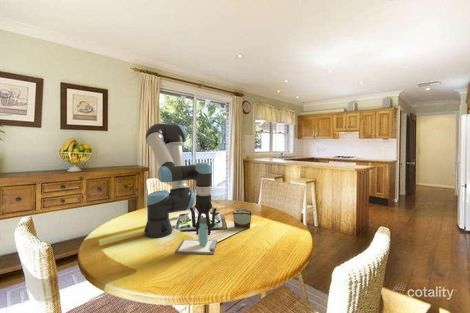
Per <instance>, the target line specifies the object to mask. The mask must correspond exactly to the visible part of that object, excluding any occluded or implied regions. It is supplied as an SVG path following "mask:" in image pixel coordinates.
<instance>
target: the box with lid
mask: <svg viewBox="0 0 470 313" xmlns="http://www.w3.org/2000/svg"><path fill="white" fill-rule="evenodd" d="M199 223H200V226H199V227H200V245H201V246H206V245H207V242H206V229H207V219H206V216H205V217H204V216H201V218H200V219H199Z"/></svg>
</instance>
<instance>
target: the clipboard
mask: <svg viewBox="0 0 470 313" xmlns="http://www.w3.org/2000/svg"><path fill="white" fill-rule="evenodd" d="M217 245H218V240H209V241H208V242H207V245H206V246H201V245H200V242H198V239H183V240H182V241H181V243H180V244H179V246H178V248H177V249H176V250H175V252H174V253H175V254H176V255H177V254H178V255H180V254H181V255H182V254H183V255H186V254H187V255H211V256H213V255H215V251H216V248H217Z"/></svg>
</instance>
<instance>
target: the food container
mask: <svg viewBox="0 0 470 313" xmlns="http://www.w3.org/2000/svg"><path fill="white" fill-rule="evenodd" d="M252 216H253V212H252V211H251V210H250V209H245V208H242V209H241V208H239V209H235V210H233V211H232V217H233V226H234V229H251V224H252V222H251V221H252Z"/></svg>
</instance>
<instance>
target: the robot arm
mask: <svg viewBox="0 0 470 313" xmlns="http://www.w3.org/2000/svg"><path fill="white" fill-rule="evenodd" d="M187 137H188V134H187V130H186V129H185V127H184V126H183V125H182V124H179V123H178V124H176V123H155V124H152V125H151V126H150V127H148V129H147V130H146V133H145V140H146V143H147V145H148V146H150V149H151V150H152V152H153V155H154V158H155V159H156V161H157V164H158V166H159V167H158V170H157V178H158V181H159V182H161V183H171V188H170V189H169V191H168V190H165V189H163V190H155V191H153V192H151V193H149V194H148V195H147V197H146V198H147V199H146V207H147V208H146V211H147V212H146V213H147V214H146V216H147V217H146V218H147V220H146V224H145V228H144V234H143V235H144V236H145V237H146V238H153V239H156V238H164V237H167V236H169V235H171V234H172V233H173V226H172V224H171V221H170V220H171V219H170V214H172V213H173V214H174V213H179V212H185V211H190V214H191V226H192V228H195V231H196V232H195V235H196V236H197V237H198V238H197V240H198V242H200V223H199V219H200V218H201V217H202V214H204V216H205V217H206V219H207V229H206V242H208V241H210V240H209V239H210V238H209V236H211V233H212V229H213V228H215V226H216V225H215V223H216V213H217V210H218V207H217V206H213V204H212V172H213V171H212V164H211V163H210V162H201V161H200V162H197V163H196V164H192V163H191V164H188V165H185V161H184V160H185V159H184V153H183V146H184V145H185V143H186V141H187ZM192 180H194V181H195V193H194V190H192V189H190V186H189V185H188V183H187V181H192ZM210 210H211V212H212V213H211V214H212V216H210ZM196 211H197V220H196ZM210 217H211V219H210Z"/></svg>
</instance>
